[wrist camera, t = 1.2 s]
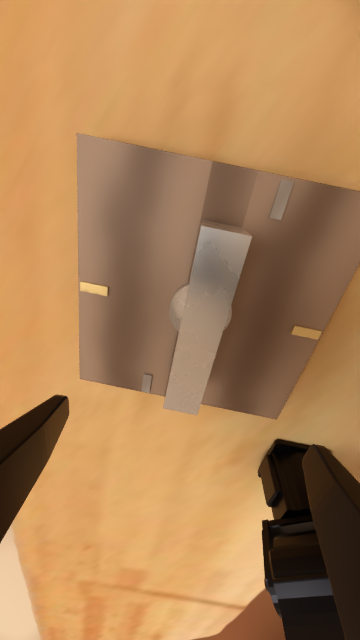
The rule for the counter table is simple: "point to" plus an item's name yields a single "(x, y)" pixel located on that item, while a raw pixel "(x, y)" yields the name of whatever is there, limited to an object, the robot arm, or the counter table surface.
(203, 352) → the t key
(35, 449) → the robot arm
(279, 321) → the lock plate
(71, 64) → the counter table surface
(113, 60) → the counter table surface
